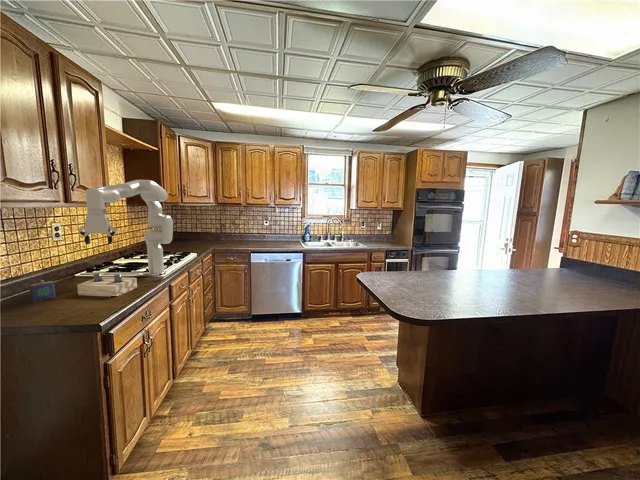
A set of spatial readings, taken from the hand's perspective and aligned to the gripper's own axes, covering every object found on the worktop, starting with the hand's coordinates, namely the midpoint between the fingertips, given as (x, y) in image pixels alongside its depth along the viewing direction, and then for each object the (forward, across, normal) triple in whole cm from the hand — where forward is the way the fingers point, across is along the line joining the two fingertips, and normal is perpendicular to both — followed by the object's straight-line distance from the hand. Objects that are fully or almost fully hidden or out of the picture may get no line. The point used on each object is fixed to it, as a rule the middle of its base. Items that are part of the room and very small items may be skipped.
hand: (99, 243), depth 149 cm
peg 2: (+24, -6, -4) cm, 26 cm away
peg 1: (+24, +5, -9) cm, 26 cm away
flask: (+30, +26, -1) cm, 39 cm away
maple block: (+29, -1, -6) cm, 30 cm away
